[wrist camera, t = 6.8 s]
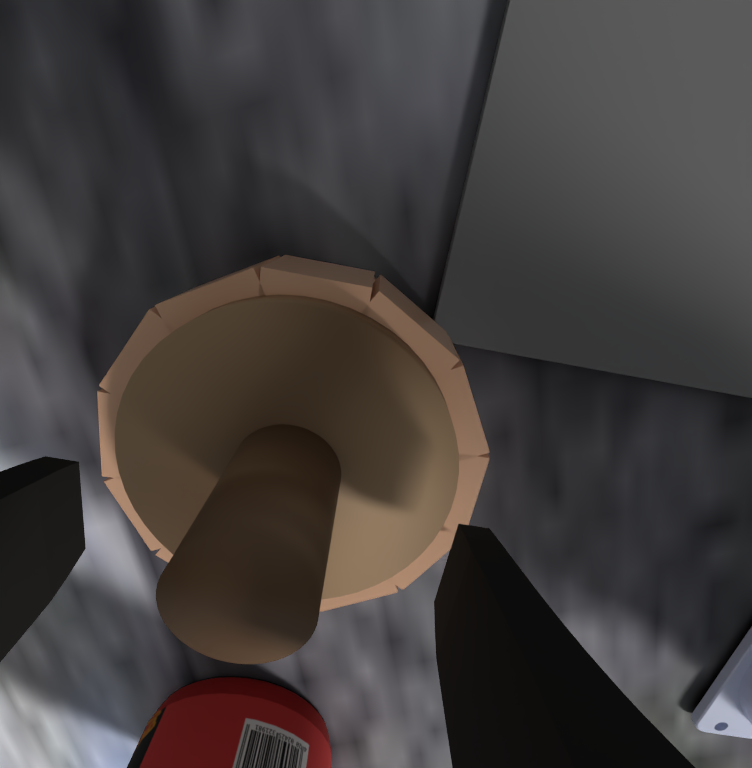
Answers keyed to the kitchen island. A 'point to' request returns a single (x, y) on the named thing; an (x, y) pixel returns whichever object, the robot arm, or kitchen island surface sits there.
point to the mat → (612, 193)
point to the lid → (281, 467)
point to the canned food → (234, 728)
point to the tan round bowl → (346, 290)
